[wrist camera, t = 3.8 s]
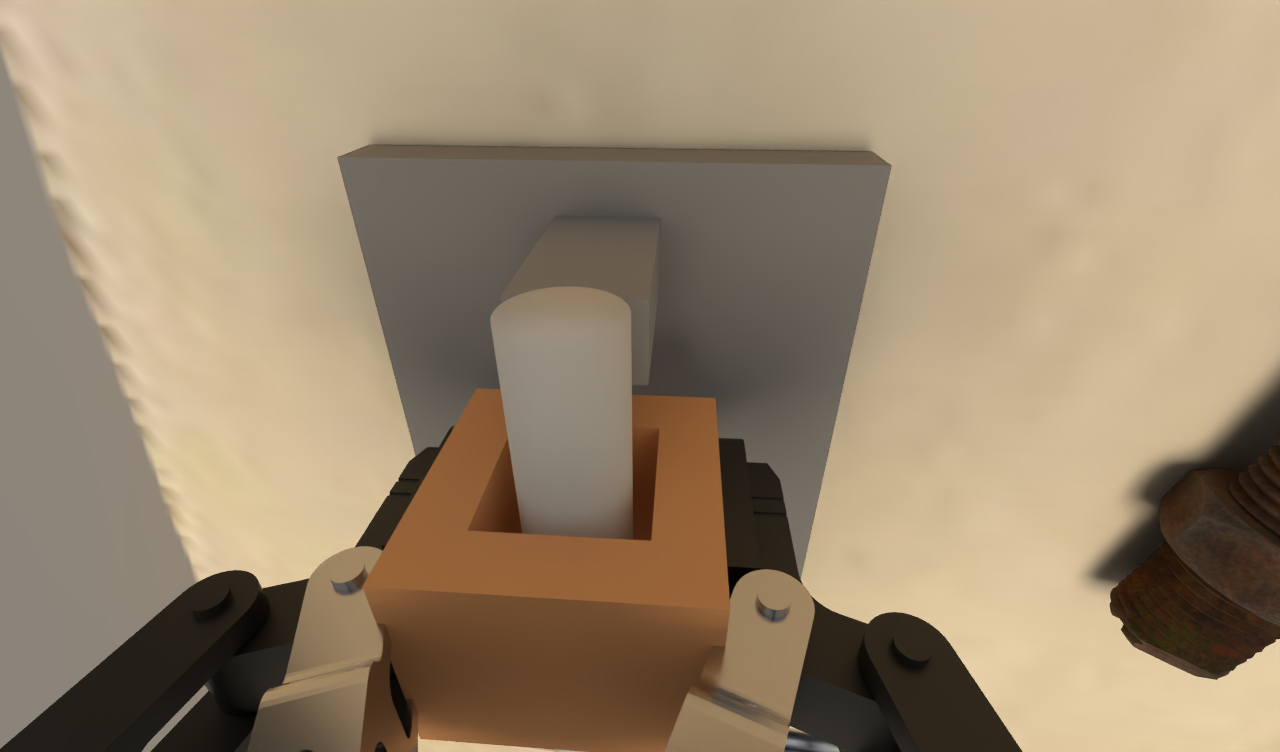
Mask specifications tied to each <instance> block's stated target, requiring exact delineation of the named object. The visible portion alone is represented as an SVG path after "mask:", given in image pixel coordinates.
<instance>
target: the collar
mask: <svg viewBox="0 0 1280 752" xmlns="http://www.w3.org/2000/svg"><path fill="white" fill-rule="evenodd" d="M632 465H633V540H628V539H610V538H592V537H574V536H556V535H538V534H522V528H521V521H520V515H519V508H518V501H517V495H516V488H515V482H514V475H513V468H512V462H511V455H510V449H509V442H508V435H507V429H506V422H505V416H504V409H503V402H502V396H501V389H478V388H477V389H476V390H475V392H474V394H473V395H472V397H471V399H470V401H469V402H468V404H467V406H466V408H465V409H464V411H463V413H462V415H461V416H460V418H459V420H458V421H457V423H456V425H455V427H454V428H453V430H452V432H451V434H450V435H449V437H448V439H447V441H446V442H445V444H444V446H443V447H442V449H441V451H440V453H439V454H438V456H437V458H436V460H435V461H434V463H433V465H432V467H431V468H430V470H429V472H428V473H427V475H426V477H425V479H424V480H423V482H422V484H421V486H420V487H419V489H418V491H417V493H416V494H415V496H414V498H413V499H412V501H411V503H410V505H409V506H408V508H407V510H406V512H405V513H404V515H403V517H402V518H401V520H400V522H399V524H398V525H397V527H396V529H395V531H394V532H393V534H392V536H391V538H390V539H389V541H388V543H387V544H386V546H385V548H384V550H383V551H382V553H381V555H380V557H379V558H378V560H377V562H376V564H375V565H374V567H373V569H372V570H371V572H370V574H369V576H368V577H367V579H366V581H365V583H364V584H363V586H362V587H363V590H364V593H365V595H366V598H367V601H368V603H369V606H370V608H371V611H372V614H373V616H374V619H375V621H376V623H380V624H385V626H386V628H387V631H388V634H389V636H390V639H391V642H392V647H391V663H392V666H393V668H394V671H395V673H396V676H397V679H398V681H399V684H400V686H401V689H402V692H403V694H404V697H405V699H413V701H414V704H415V706H416V709H417V712H418V733H419V736H420V738H421V739H430V740H442V741H455V742H468V743H480V744H493V745H506V746H519V747H531V748H544V749H557V750H569V751H582V752H665V749H666V746H667V744H668V741H669V739H670V736H671V734H672V731H673V729H674V726H675V723H676V721H677V718H678V716H679V713H680V711H681V708H682V706H683V703H684V701H685V698H686V696H687V694H688V692H689V690H690V688H691V686H692V685H693V684H694V683H695V684H697V682H698V681H699V679H700V677H701V674H702V672H703V669H704V666H705V664H706V661H707V658H708V656H709V653H710V651H711V648H712V646H726V639H727V631H728V624H729V616H730V598H729V584H728V570H727V555H726V541H725V527H724V513H723V498H722V484H721V470H720V455H719V441H718V427H717V413H716V398H703V397H678V396H653V395H632Z"/></svg>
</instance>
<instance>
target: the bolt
mask: <svg viewBox="0 0 1280 752" xmlns="http://www.w3.org/2000/svg"><path fill="white" fill-rule="evenodd" d="M1278 444H1279V445H1277V446H1271V447H1270V448H1269V449H1268V452H1269V455H1261V456H1259V457H1258V462H1259V463H1254V464H1251V465H1249V467H1248V470H1249V472H1241V471H1236V470H1231V469H1225V468H1215V469H1200V470H1191V471H1189V472H1188V473H1187V474H1186V475H1185V476H1184V477H1183V478H1182V479H1181V480H1180V481H1179V482H1178V483H1177V484H1176V485H1175V486H1174V487H1173V488H1172V489H1171V490H1170V491H1169V492H1168V493H1167V494H1166V495H1165V496H1164V497H1163V498H1162V500H1161V505H1160V510H1159V517H1160V528H1161V532H1162V533H1163V535H1164V537H1165V539H1166V541H1167V542H1164V543H1163V545H1162V547H1161V548H1159V549H1158V550H1156V551H1155V552H1154V554H1152V555H1151V556H1149V557H1148V558H1147V560H1146V561H1144V562H1143V563H1141V564H1140V567H1138V568H1136V569H1135V570H1134V571H1133V573H1132V574H1130V575H1128V576H1127V577H1126V579H1124V580H1122V581H1121V582H1120V583H1119V584H1118V586H1117V587H1115V588H1113V589H1112V591H1111V594H1110V598H1111V602H1110V610H1111V613H1112V615H1113V616H1116V617H1118V618H1120V620H1121V621H1122V622H1123V624H1124V625H1123V627H1122V629H1121V631H1122V632H1123V634H1124V635H1125V637H1126V638H1127V639H1128V640H1129V642H1130V643H1131V644H1132V645H1133V646H1134V647H1135V648H1137V649H1139V650H1142V651H1144V652H1146V653H1148V654H1150V655H1152V656H1154V657H1156V658H1158V659H1160V660H1162V661H1164V662H1166V663H1168V664H1170V665H1173V666H1175V667H1177V668H1179V669H1181V670H1183V671H1185V672H1188V673H1190V674H1192V675H1194V676H1197V677H1203V678H1210V679H1216V680H1217V679H1218V678H1220V677H1223V676H1225V675H1228V674H1229V672H1230V671H1233V670H1234V669H1235V668H1236V666H1237V665H1240V664H1242V663H1244V662H1246V661H1247V659H1250V658H1252V657H1253V656H1254V655H1255V653H1257V652H1262V650H1263V649H1264V648H1265V647H1266V646H1268V645H1270V644H1272V643H1274V642H1275V641H1276V639H1280V438H1279V443H1278Z"/></svg>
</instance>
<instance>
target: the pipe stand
mask: <svg viewBox="0 0 1280 752" xmlns="http://www.w3.org/2000/svg"><path fill="white" fill-rule="evenodd" d="M337 158H338V162H339V165H340V169H341V173H342V177H343V181H344V185H345V188H346V192H347V196H348V200H349V204H350V207H351V211H352V215H353V219H354V223H355V226H356V230H357V234H358V238H359V242H360V245H361V249H362V253H363V257H364V261H365V264H366V268H367V272H368V276H369V280H370V283H371V287H372V291H373V295H374V299H375V303H376V306H377V310H378V314H379V318H380V322H381V325H382V329H383V333H384V337H385V341H386V344H387V348H388V352H389V356H390V360H391V363H392V367H393V371H394V375H395V379H396V382H397V386H398V390H399V394H400V398H401V402H402V405H403V409H404V413H405V417H406V421H407V424H408V428H409V432H410V436H411V440H412V443H413V447H414V451H415V455H416V456H417V455H418V454H419V453H420V452H422V451H423V450H424V449H426V448H427V447H439V446H440V444H441V442H442V441H443V439H444V437H445V436H446V434H447V432H448V430H449V429H450V428H451V427H452V426H455V425H456V423H457V421H458V420H459V418H460V416H461V415H462V413H463V411H464V409H465V408H466V406H467V404H468V402H469V401H470V399H471V397H472V395H473V394H474V392H475V390H476V389H477V388H478V389H501V396H502V402H503V409H504V416H505V422H506V429H507V435H508V442H509V449H510V455H511V462H512V468H513V475H514V482H515V488H516V495H517V501H518V508H519V515H520V521H521V528H522V534H538V535H556V536H574V537H592V538H610V539H628V540H633V465H632V395H653V396H678V397H703V398H716V413H717V427H718V438H733V439H743V440H744V444H745V451H746V459H747V462H753V463H768V465H769V466H770V467H771V469H772V470H773V471H774V473H775V474H776V475H777V476H778V478H779V479H780V482H781V487H782V492H783V497H784V502H785V507H786V512H787V517H788V522H789V527H790V532H791V537H792V542H793V548H794V553H795V558H796V563H797V568H798V573H799V576H800V579H801V575H802V570H803V566H804V561H805V557H806V552H807V548H808V543H809V538H810V534H811V529H812V525H813V520H814V516H815V511H816V507H817V502H818V497H819V493H820V488H821V484H822V479H823V475H824V470H825V466H826V461H827V457H828V452H829V447H830V443H831V438H832V434H833V429H834V425H835V420H836V416H837V411H838V406H839V402H840V397H841V393H842V388H843V384H844V379H845V375H846V370H847V365H848V361H849V356H850V352H851V347H852V343H853V338H854V334H855V329H856V325H857V320H858V315H859V311H860V306H861V302H862V297H863V293H864V288H865V284H866V279H867V274H868V270H869V265H870V261H871V256H872V252H873V247H874V243H875V238H876V234H877V229H878V224H879V220H880V215H881V211H882V206H883V202H884V197H885V193H886V188H887V183H888V179H889V174H890V170H891V165H890V164H888V163H887V162H886V161H884V160H883V159H882V158H880V157H879V156H877V155H876V154H875V153H873V152H857V151H783V150H710V149H637V148H564V147H491V146H418V145H367V146H365V147H362V148H360V149H357V150H355V151H352V152H350V153H347V154H344V155H342V156H339V157H337ZM555 752H582V751H569V750H557V749H555Z"/></svg>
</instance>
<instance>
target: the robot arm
mask: <svg viewBox="0 0 1280 752" xmlns="http://www.w3.org/2000/svg"><path fill="white" fill-rule="evenodd" d="M454 427H455V426H452V427H451V428H450V429H449V430H448V432H447V434H446V436H445V437H444V439H443V441H442V442H441V444H440V446H439V447H427V448H426V449H424V450H423V451H422V452H420V453H419V454H418V455H417V456H415V457H414V458H413V459H412V460H410V461H409V463H408V464H407V466H406V467H405V469H404V470H403V472H402V474H401V475H400V477H399V481H398V482H396V483H395V485H394V486H393V488H392V489H391V491H390V495H389V496H387V497H386V499H385V501H384V502H383V504H382V505H381V507H380V508H379V510H378V512H377V513H376V515H375V516H374V518H373V519H372V521H371V523H370V524H369V526H368V527H367V529H366V531H365V532H364V534H363V535H362V537H361V538H360V540H359V542H358V543H357V545H356V546H355V547H354V548H350V549H346V550H344V551H341V552H339V553H337V554H335V555H333V556H331V557H330V558H328V559H327V560H325V561H324V562H323V563H322V564H320V565H319V566H318V567H317V568H316V570H315V571H314V572H313V573H312V575H311V577H310V578H309V579H305V580H301V581H296V582H291V583H286V584H281V585H276V586H272V587H267V588H262V587H261V585H260V583H259V581H258V580H257V578H256V577H255V576H254V575H253V574H251V573H249V572H246V571H240V570H234V571H226V572H221V573H218V574H215V575H212V576H210V577H207V578H205V579H203V580H201V581H199V582H197V583H196V584H194V585H193V586H191V587H190V588H188V589H187V590H186V591H185V592H183V593H182V594H181V595H180V596H178V597H177V598H176V599H175V600H174V601H173V602H172V603H170V604H169V605H168V606H167V607H166V608H165V609H163V610H162V611H161V612H160V613H159V614H157V615H156V616H155V617H154V618H153V619H152V620H150V621H149V622H148V623H147V624H146V625H145V626H144V627H142V628H141V629H140V630H139V631H138V632H136V633H135V634H134V635H133V636H132V637H131V638H129V639H128V640H127V641H126V642H125V643H124V644H123V645H121V646H120V647H119V648H118V649H117V650H115V651H114V652H113V653H112V654H111V655H110V656H108V657H107V658H106V659H105V660H104V661H102V662H101V663H100V664H99V665H98V666H97V667H96V668H95V669H93V670H92V671H91V672H90V673H88V674H87V675H86V676H85V677H84V678H83V679H81V680H80V681H79V682H78V683H77V684H76V685H74V686H73V687H72V688H71V689H70V690H69V691H67V692H66V693H65V694H64V695H63V696H62V697H61V698H59V699H58V700H57V701H56V702H55V703H54V704H52V705H51V706H50V707H49V708H48V709H46V710H45V711H44V712H43V713H42V714H41V715H40V716H38V717H37V718H36V719H35V720H34V721H33V722H31V723H30V724H29V725H28V726H27V727H26V728H24V729H23V730H22V731H21V732H20V733H18V734H17V735H16V736H15V737H14V738H13V739H11V740H10V741H9V742H8V743H7V744H6V745H4V746H3V747H2V748H1V749H0V752H142V750H143V749H144V747H145V746H146V745H147V743H148V742H149V741H150V740H151V739H152V738H153V737H154V736H155V735H156V734H157V733H158V732H159V731H160V730H161V729H162V727H164V725H166V723H167V722H168V721H169V720H170V719H171V718H172V717H173V716H174V715H175V714H176V713H177V712H178V711H179V710H180V709H181V708H182V707H183V706H184V705H185V704H186V703H187V702H188V701H189V700H190V699H191V698H192V697H193V696H194V695H195V694H196V693H197V692H198V691H199V690H200V689H201V687H203V685H205V686H206V687H207V689H208V690H209V691H208V692H207V693H206V694H205V696H204V697H202V698H201V700H200V701H199V702H198V703H197V704H196V705H195V706H194V707H193V708H192V709H191V710H190V711H189V712H188V713H187V714H186V715H185V716H184V717H183V718H182V719H181V720H180V721H179V722H178V723H177V725H176V726H175V727H174V728H173V729H172V730H171V731H170V732H169V733H168V734H167V735H166V736H165V737H164V738H163V739H162V740H161V741H160V742H159V743H158V744H157V745H156V747H155V748H154V749H153V750H152V751H151V752H418V712H417V709H416V706H415V704H414V701H413V699H405V697H404V694H403V692H402V689H401V686H400V684H399V681H398V679H397V676H396V673H395V671H394V668H393V666H392V663H391V647H392V642H391V639H390V636H389V634H388V631H387V628H386V626H385V624H380V623H376V621H375V619H374V616H373V614H372V611H371V608H370V606H369V603H368V601H367V598H366V595H365V593H364V590H363V587H362V586H363V584H364V583H365V581H366V579H367V577H368V576H369V574H370V572H371V570H372V569H373V567H374V565H375V564H376V562H377V560H378V558H379V557H380V555H381V553H382V551H383V550H384V548H385V546H386V544H387V543H388V541H389V539H390V538H391V536H392V534H393V532H394V531H395V529H396V527H397V525H398V524H399V522H400V520H401V518H402V517H403V515H404V513H405V512H406V510H407V508H408V506H409V505H410V503H411V501H412V499H413V498H414V496H415V494H416V493H417V491H418V489H419V487H420V486H421V484H422V482H423V480H424V479H425V477H426V475H427V473H428V472H429V470H430V468H431V467H432V465H433V463H434V461H435V460H436V458H437V456H438V454H439V453H440V451H441V449H442V447H443V446H444V444H445V442H446V441H447V439H448V437H449V435H450V434H451V432H452V430H453V428H454ZM718 441H719V455H720V470H721V484H722V498H723V513H724V527H725V541H726V555H727V570H728V584H729V598H730V616H729V624H728V631H727V639H726V646H712V648H711V651H710V653H709V656H708V658H707V661H706V664H705V666H704V669H703V672H702V674H701V677H700V679H699V681H698V682H697V684H695V683H694V684H693V685H692V686H691V688H690V690H689V692H688V694H687V696H686V698H685V701H684V703H683V706H682V708H681V711H680V713H679V716H678V718H677V721H676V723H675V726H674V729H673V731H672V734H671V736H670V739H669V741H668V744H667V746H666V749H665V752H784V748H785V744H786V739H787V735H788V730H789V726H791V727H794V728H796V729H799V730H801V731H803V732H806V733H808V734H810V735H813V736H815V737H817V738H820V739H822V740H824V741H827V742H829V743H831V744H834V745H836V746H838V748H839V751H840V752H1022V750H1021V749H1020V747H1019V746H1018V744H1017V743H1016V741H1015V740H1014V738H1013V737H1012V735H1011V734H1010V732H1009V731H1008V729H1007V728H1006V726H1005V725H1004V724H1003V722H1002V721H1001V719H1000V718H999V716H998V715H997V713H996V712H995V710H994V709H993V707H992V706H991V704H990V703H989V701H988V700H987V698H986V697H985V695H984V694H983V692H982V691H981V689H980V688H979V686H978V685H977V683H976V682H975V680H974V679H973V677H972V676H971V674H970V673H969V671H968V670H967V668H966V667H965V665H964V664H963V662H962V661H961V659H960V658H959V657H958V655H957V654H956V652H955V651H954V649H953V648H952V646H951V645H950V643H949V642H948V641H947V639H946V638H945V637H944V636H943V635H942V634H941V633H940V632H939V631H938V630H937V629H936V628H934V627H933V626H932V625H930V624H929V623H927V622H925V621H924V620H922V619H920V618H918V617H915V616H912V615H909V614H904V613H897V612H892V613H885V614H881V615H879V616H877V617H875V618H874V619H872V620H871V621H870V623H869V624H866V623H863V622H861V621H858V620H855V619H852V618H849V617H846V616H843V615H840V614H838V613H836V612H833V611H831V610H829V609H828V608H826V607H824V606H823V605H821V604H820V603H818V602H817V601H816V600H815V599H814V598H813V597H812V596H811V595H810V593H809V592H808V590H807V589H806V588H805V587H804V586H803V584H802V582H801V580H800V576H799V573H798V568H797V563H796V558H795V553H794V548H793V542H792V537H791V532H790V527H789V522H788V517H787V512H786V507H785V502H784V497H783V492H782V487H781V482H780V479H779V478H778V476H777V475H776V474H775V473H774V471H773V470H772V469H771V467H770V466H769V465H768V463H753V462H747V459H746V451H745V444H744V440H743V439H733V438H718Z"/></svg>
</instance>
